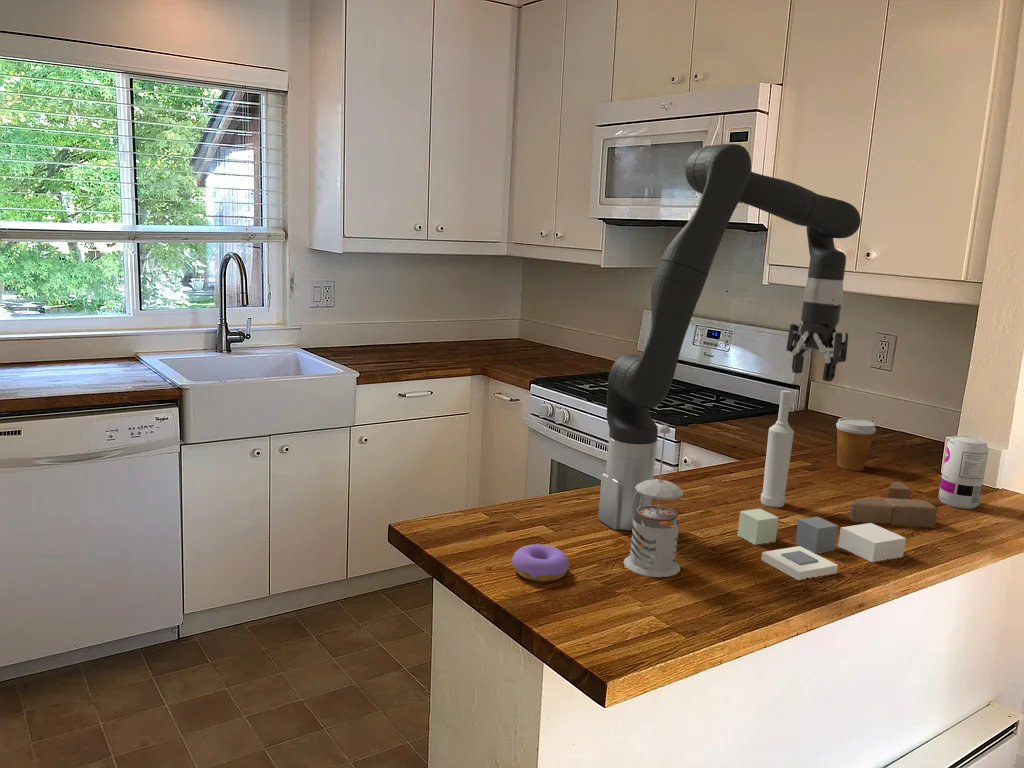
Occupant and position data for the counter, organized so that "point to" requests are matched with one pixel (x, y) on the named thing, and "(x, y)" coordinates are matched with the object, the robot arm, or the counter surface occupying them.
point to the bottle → (778, 456)
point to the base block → (871, 542)
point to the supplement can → (963, 472)
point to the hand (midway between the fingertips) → (812, 376)
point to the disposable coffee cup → (853, 442)
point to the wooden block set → (894, 509)
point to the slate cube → (816, 534)
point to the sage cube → (757, 526)
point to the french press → (655, 528)
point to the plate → (799, 562)
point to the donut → (540, 562)
